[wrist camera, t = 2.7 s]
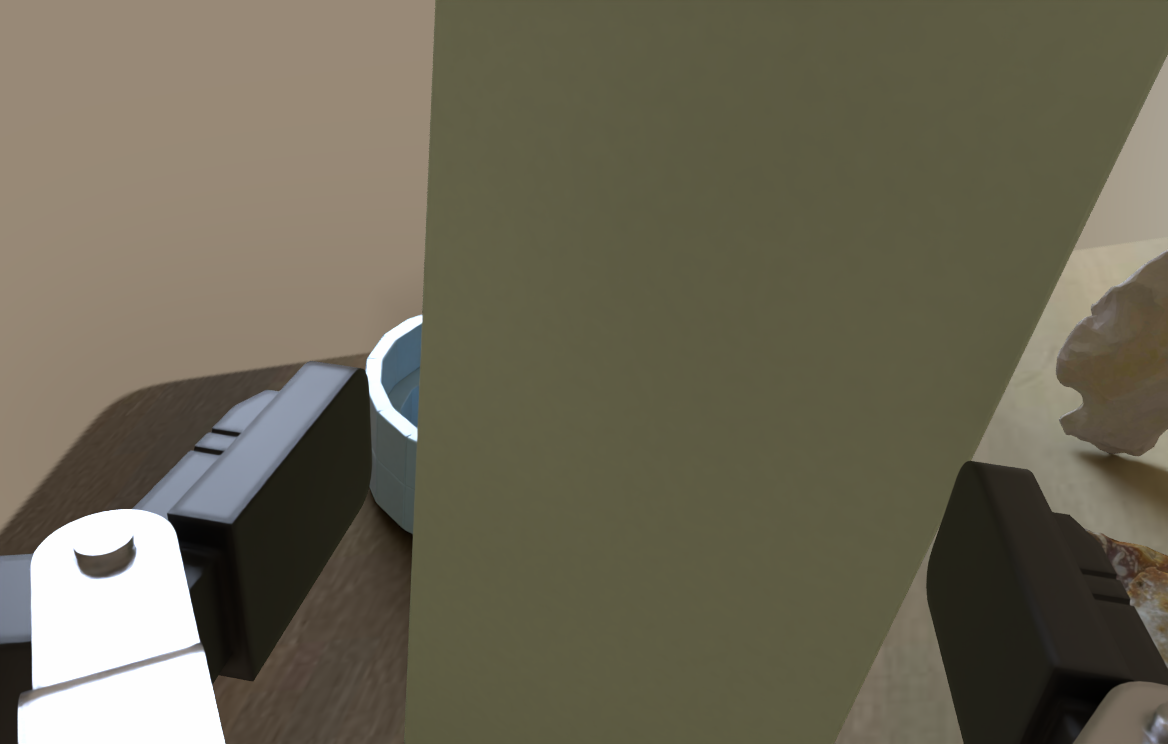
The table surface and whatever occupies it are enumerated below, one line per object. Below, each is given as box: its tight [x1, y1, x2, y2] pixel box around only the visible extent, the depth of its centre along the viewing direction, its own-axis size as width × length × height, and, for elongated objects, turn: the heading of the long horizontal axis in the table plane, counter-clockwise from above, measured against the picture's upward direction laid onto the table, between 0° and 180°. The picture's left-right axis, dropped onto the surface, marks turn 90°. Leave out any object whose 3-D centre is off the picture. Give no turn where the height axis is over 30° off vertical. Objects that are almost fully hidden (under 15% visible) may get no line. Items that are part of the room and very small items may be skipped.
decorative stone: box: [1085, 529, 1168, 668], centre depth 42 cm, size 10×4×15 cm
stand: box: [404, 0, 1168, 744], centre depth 23 cm, size 10×12×32 cm
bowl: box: [365, 315, 422, 534], centre depth 45 cm, size 14×14×6 cm
